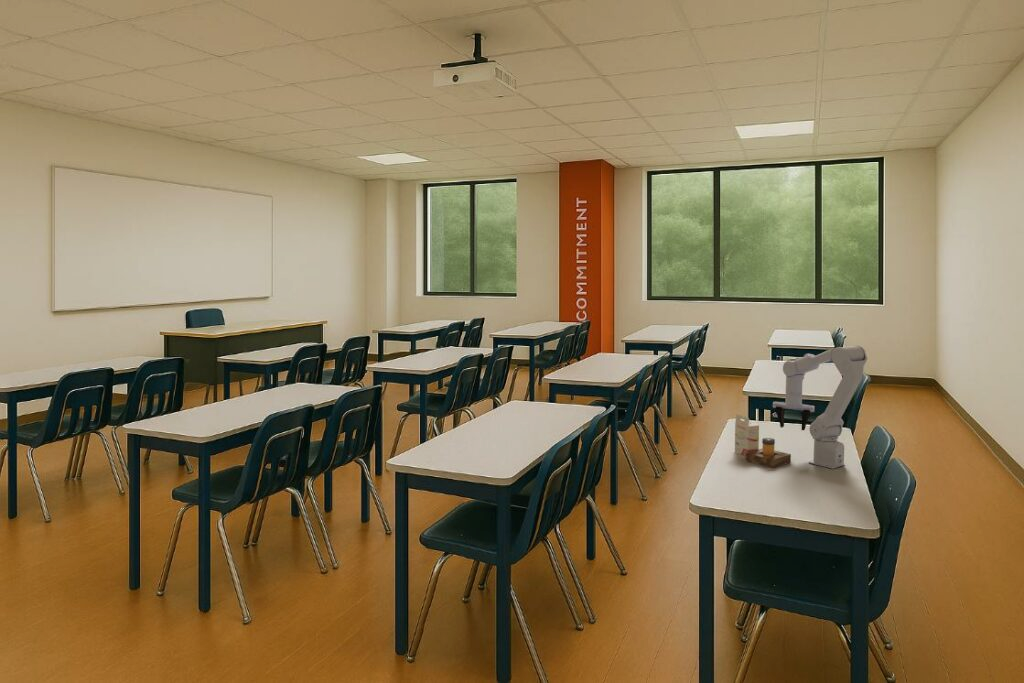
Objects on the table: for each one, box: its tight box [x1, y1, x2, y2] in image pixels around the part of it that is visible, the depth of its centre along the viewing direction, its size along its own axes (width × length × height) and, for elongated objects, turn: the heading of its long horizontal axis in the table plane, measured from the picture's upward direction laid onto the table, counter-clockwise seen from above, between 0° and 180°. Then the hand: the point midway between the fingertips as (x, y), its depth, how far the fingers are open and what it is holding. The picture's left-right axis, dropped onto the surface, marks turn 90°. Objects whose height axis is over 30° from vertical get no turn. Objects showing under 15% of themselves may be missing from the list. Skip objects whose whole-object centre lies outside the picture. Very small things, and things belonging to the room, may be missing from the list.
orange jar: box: [761, 437, 776, 457], centre depth 255 cm, size 4×4×8 cm
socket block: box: [745, 447, 792, 469], centre depth 256 cm, size 11×11×3 cm
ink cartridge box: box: [734, 413, 760, 457], centre depth 266 cm, size 9×5×15 cm, turn 17°
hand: (792, 428), depth 266 cm, fingers open, 7 cm apart
